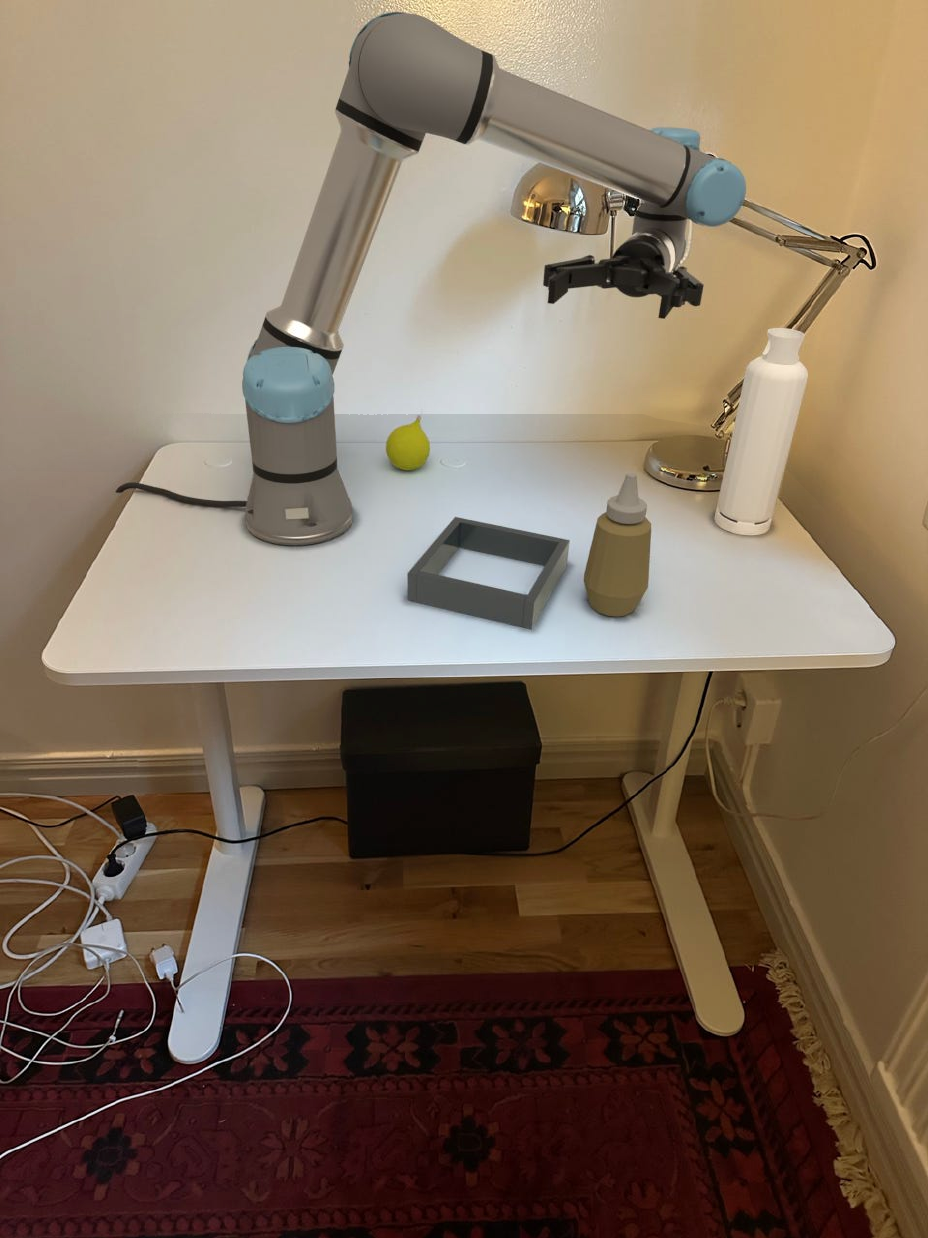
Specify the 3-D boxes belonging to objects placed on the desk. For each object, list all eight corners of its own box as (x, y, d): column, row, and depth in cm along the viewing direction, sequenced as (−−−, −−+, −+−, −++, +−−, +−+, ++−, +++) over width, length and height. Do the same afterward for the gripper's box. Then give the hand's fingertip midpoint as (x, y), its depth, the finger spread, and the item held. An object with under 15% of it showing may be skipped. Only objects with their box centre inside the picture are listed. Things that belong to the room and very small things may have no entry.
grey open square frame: (407, 600, 111) (407, 573, 109) (454, 541, 124) (455, 516, 122) (531, 629, 107) (534, 601, 104) (567, 565, 119) (569, 539, 117)
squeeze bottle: (567, 604, 111) (582, 474, 101) (604, 581, 116) (622, 454, 106) (620, 630, 107) (641, 496, 97) (656, 605, 112) (680, 475, 102)
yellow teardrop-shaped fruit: (438, 468, 144) (439, 410, 138) (406, 481, 140) (406, 421, 134) (409, 455, 148) (408, 397, 142) (377, 467, 144) (375, 408, 138)
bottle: (772, 538, 128) (822, 344, 112) (715, 531, 129) (756, 339, 113) (767, 513, 134) (814, 327, 118) (713, 507, 135) (752, 321, 120)
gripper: (728, 303, 120) (706, 345, 103) (553, 280, 127) (505, 317, 110) (740, 244, 116) (718, 278, 99) (557, 224, 123) (509, 253, 106)
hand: (606, 299), depth 105 cm, fingers open, 13 cm apart
